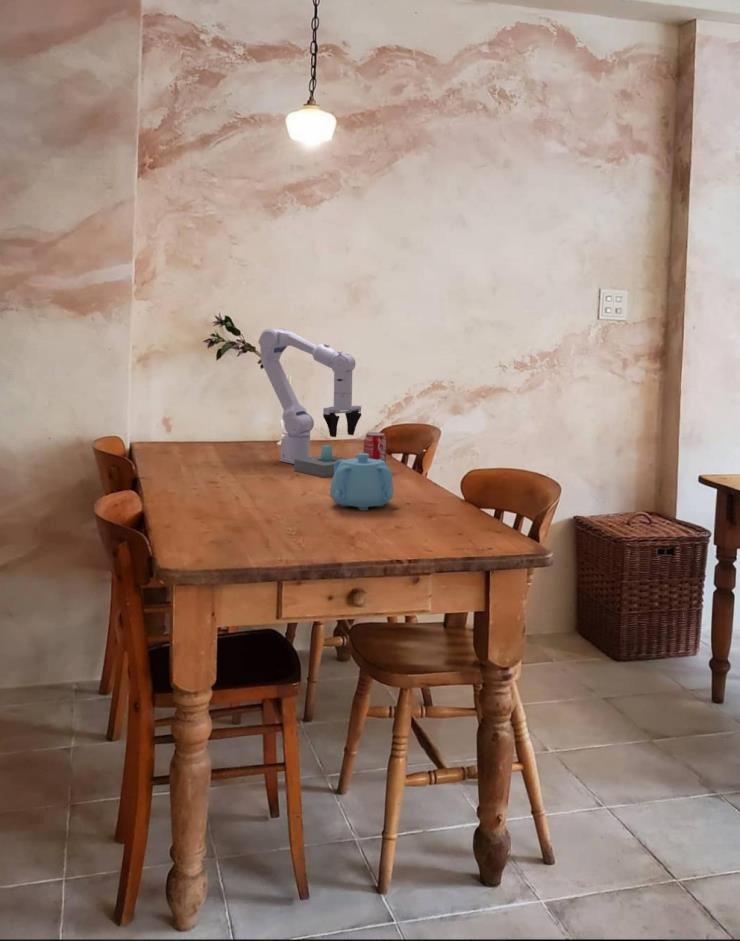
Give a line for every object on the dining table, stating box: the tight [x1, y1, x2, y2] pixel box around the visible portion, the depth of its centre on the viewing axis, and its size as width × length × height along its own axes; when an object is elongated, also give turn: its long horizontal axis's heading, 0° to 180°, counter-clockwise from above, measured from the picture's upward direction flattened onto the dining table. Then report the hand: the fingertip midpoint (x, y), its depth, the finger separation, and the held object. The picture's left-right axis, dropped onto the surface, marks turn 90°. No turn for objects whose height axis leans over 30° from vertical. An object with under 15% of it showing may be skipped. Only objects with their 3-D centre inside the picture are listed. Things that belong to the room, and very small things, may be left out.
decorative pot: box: [329, 452, 394, 511], centre depth 238 cm, size 16×16×14 cm
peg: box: [320, 444, 333, 462], centre depth 285 cm, size 3×3×8 cm
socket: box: [293, 455, 348, 478], centre depth 286 cm, size 14×14×4 cm
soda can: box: [362, 431, 387, 463], centre depth 287 cm, size 7×7×12 cm
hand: (341, 435), depth 294 cm, fingers open, 7 cm apart
